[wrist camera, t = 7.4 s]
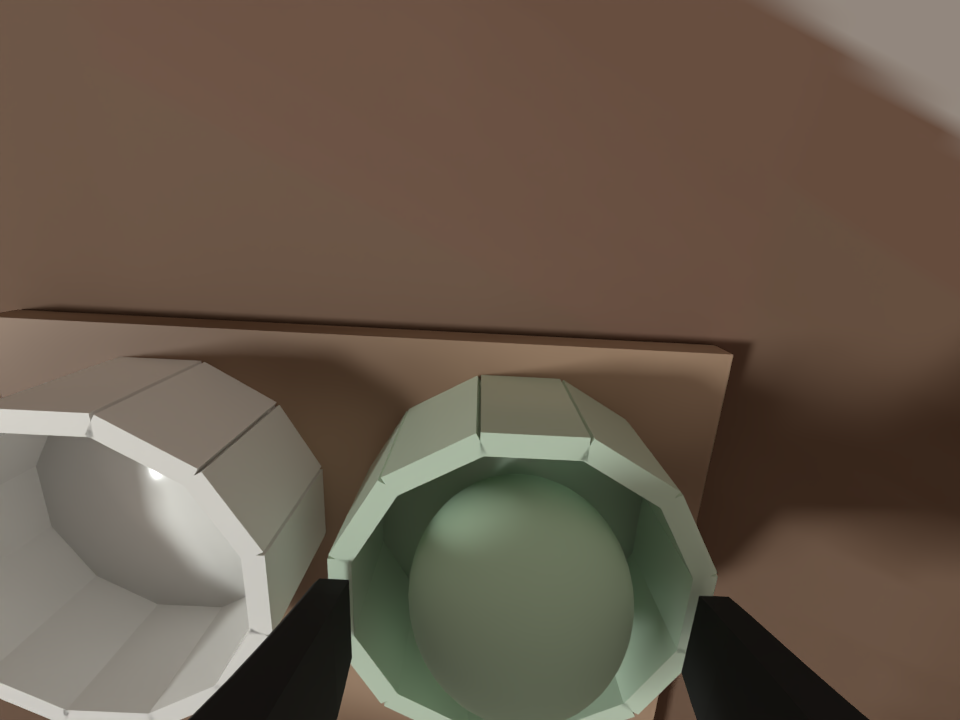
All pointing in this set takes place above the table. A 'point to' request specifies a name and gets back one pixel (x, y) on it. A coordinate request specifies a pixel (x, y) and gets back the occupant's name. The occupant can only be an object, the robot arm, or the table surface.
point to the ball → (521, 599)
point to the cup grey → (146, 536)
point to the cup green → (532, 451)
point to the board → (389, 393)
